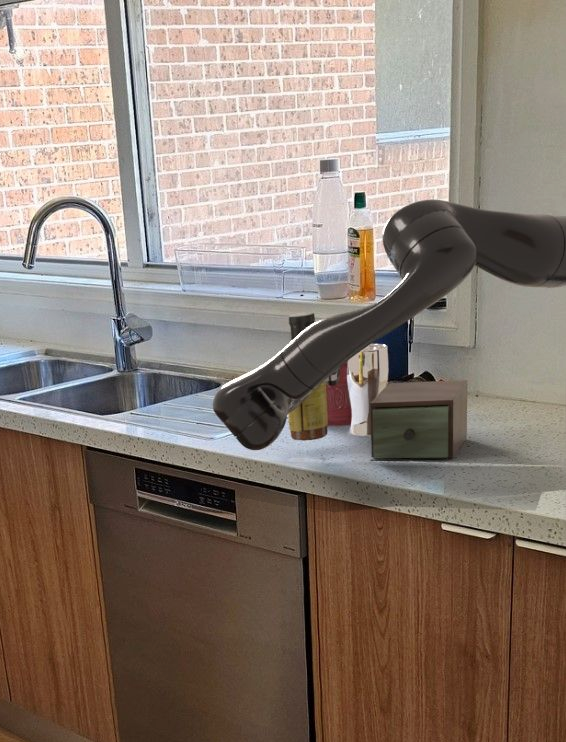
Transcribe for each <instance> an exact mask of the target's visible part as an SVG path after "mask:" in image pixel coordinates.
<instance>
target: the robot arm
mask: <svg viewBox="0 0 566 742" xmlns="http://www.w3.org/2000/svg"><path fill="white" fill-rule="evenodd" d="M381 241H382V246H383V249H384V251H385V254H386V256H387V258H388V260H389V261H390V263H391V265H392V266H393V268H394V269H395V271H396V272H397V274H398V275H399V277H400V279H401V281H400V283H399V284H398V285H397V286H396V287H394V288H393V289H392V290H391V291H389V293H387V294H386V295H385V296H383V297H382V298H381V299H379V300H377V301H375V302H373V303H371V304H368V305H366V306H363V307H359V308H357V309H353V310H349V311H345V312H341V313H336V314H333V315H329V316H326V317H324V318H321V319H319V320H317V321H315V322H314V323H313V324H312V325H310V326H309V327H307V328H306V329H305V330H304V331H302V332H301V333H300V334H299V335H298V336H297V337H296V338H295V339H294V340H292V341H291V340H290V342H289V343H288V344H287V345H286V346H284V348H282V349H281V350H280V351H279V352H278V353H276V355H274V356H273V357H271V359H269V360H267V361H266V362H265V363H263V364H261V365H260V366H258V367H257V368H254V369H252V370H251V371H249V372H247V373H245V374H243V375H240V376H238V377H236V378H234V379H232V380H230V381H229V382H227V383H225V384H224V385H222V386H221V387H219V389H218V390H217V391H216V393H215V395H214V398H213V401H212V410H213V413H214V414H215V415H216V417H217V418H218V420H220V422H222V424H223V425H224V426H225V427H226V429H228V431H229V432H230V433H231V434H232V436H234V438H235V439H236V440H237V442H238V443H239V444H240V445H241V446H242V447H244V448H245V449H247V450H250V451H260V450H264V449H266V448H268V447H269V446H271V445H272V444H273V443H274V442H276V440H277V439H278V438H279V437H280V436H281V433H282V432H283V430H284V428H285V426H286V423H287V419H288V414H289V413H290V412H292V411H293V410H294V409H295V408H296V407H298V406H299V405H300V404H301V403H302V402H303V401H304V400H305V399H306V398H307V397H308V395H309V393H311V392H312V391H313V390H314V389H315V388H316V387H318V386H319V385H320V384H321V383H322V382H323V381H326V384H329V386H334V385H337V383H338V381H339V379H340V367H341V366H342V365H343V364H344V363H346V362H347V361H348V360H349V359H351V358H352V357H353V356H355V355H356V354H357V353H359V352H360V351H361V350H363V349H364V348H366V347H367V346H369V345H370V344H374V343H375V342H376V341H378V340H380V339H381V338H383V337H385V336H386V335H388V334H389V333H391V332H393V331H395V330H396V329H398V328H399V327H400V326H402V325H403V324H405V323H406V322H408V321H410V320H411V319H413V318H415V317H416V316H418V315H419V314H420V313H422V312H423V311H425V310H427V309H428V308H430V307H431V306H433V305H435V304H436V303H438V302H439V301H441V300H442V299H443V298H445V297H447V295H450V293H451V292H453V291H454V290H455V289H457V288H458V287H459V286H460V285H461V284H462V283H463V282H464V281H465V280H466V279H468V277H469V276H470V275H471V273H472V272H473V271H474V269H475V267H477V268H478V269H480V270H482V271H484V272H486V273H487V274H490V275H492V276H494V277H496V278H498V279H500V280H502V281H504V282H507V283H510V284H512V285H514V286H515V285H516V286H518V287H519V286H520V287H525V288H545V289H547V288H548V289H549V288H550V289H552V288H553V289H555V288H564V287H566V216H565V215H552V214H531V213H529V214H528V213H518V212H510V211H500V210H499V211H498V210H489V209H483V208H477V207H472V206H469V205H465V204H460V203H456V202H452V201H448V200H443V199H433V198H432V199H423V200H418V201H414V202H412V203H409V204H407V205H405V206H402V208H400V209H398V210H397V211H395V212H394V213H393V214H392V215H391V217H390V218H389V219H388V220H387V221H386V223H385V225H384V227H383V230H382V240H381Z"/></svg>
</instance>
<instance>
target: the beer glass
mask: <svg viewBox="0 0 566 742" xmlns="http://www.w3.org/2000/svg"><path fill="white" fill-rule="evenodd" d="M346 378H347V389H348V395H349V401H350V407H351V423H350V425H349V428H348V434H349V435H352V436H359V437H360V436H361V437H371V410H370V403H371V402H372V401H373V400H374V399H375V398H376V397H377V396H378V394H379V393H380V392H381V391H382V390H383V389H384V388H385V387H386V386H387V385H388V381H389V353H388V344H387V345H386V344H384V343H372V344H370V345H369V346H367V347H366V348H364V349H363V350H361V351H360V352H359V353H357V354H356V355H355V356H353V357H352V358H351V359H349V360H348V361H347V369H346Z"/></svg>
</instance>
